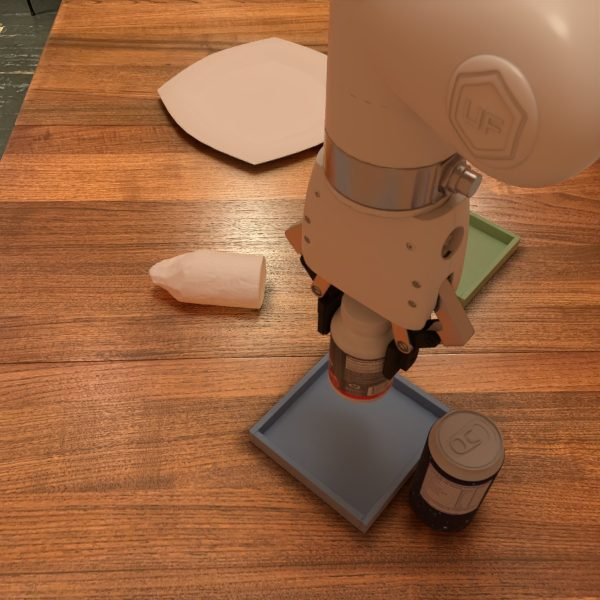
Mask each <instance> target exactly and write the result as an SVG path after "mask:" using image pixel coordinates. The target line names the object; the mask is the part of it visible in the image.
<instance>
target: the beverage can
mask: <svg viewBox="0 0 600 600" xmlns="http://www.w3.org/2000/svg"><path fill="white" fill-rule="evenodd" d="M452 410H453V409H452ZM504 444H505V443H504V437H503V434H502V432H501V430H500V427H499V426H498V425H497V424H496V423H495V421H493V419H492V418H490V417H489V416H488V415H486V414H485V413H482V412H480V411H478V410H475V409H470V408H458V409H454V410H453V411H451V412H449V413H447V414H445V415H444V416H443V417H441V418H440V419H438V420H437V421H436V422H435V423H434V424H433V425H432V427H431V428H430V430H429V433H428V436H427V439H426V442H425V445H424V448H423V451H422V454H421V457H420V460H419V463H418V466H417V469H416V470H415V471H414V475H413V479H412V482H411V485H410V488H409V493H408V500H409V505H410V507H411V510H412V512H413V514H414V515H415V517H416V518H417V519H418V521H420V523H422V524H423V525H424V526H426V527H427V528H429V529H431V530H433V531H435V532H439V533H448V534H449V533H451V534H452V533H455V532H456V533H457V532H459V531H462V530H464V529H465V528H466V527H468V526H469V525H470V524H471V522H472V521H473V519H474V518H475V516H476V514H477V512H478V511H479V509H480V507H481V505H482V503H483V501H484V500H485V498H486V497H487V494H488V493H489V491H490V490H491V487H492V486H493V484H494V482H495V480H496V478H497V476H498V474H499V473H500V472H501V469H502V468H503V466H504V463H505V459H506V449H505V448H506V447H505V445H504Z"/></svg>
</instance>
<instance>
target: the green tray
mask: <svg viewBox="0 0 600 600" xmlns="http://www.w3.org/2000/svg"><path fill="white" fill-rule="evenodd" d="M521 240H522V236H520V235H518V234H516V233H514V232H512V231H510V230H508V229H506V228H504V227H502V226H501V225H499V224H496V223H495V222H493V221H491V220H489V219H487V218H486V217H483V216H482V215H480V214H478V213H476V212H474V211H472V210H470V217H469V232H468V240H467V247H466V253H465V259H464V264H463V270H462V274H461V279H460V282H459V286H458V288H457V291H456V292H455V293H456V295H457V297H458V299H459V301H460V303H461V305H462V307H463V309H464V310H465V307H467V306H468V305H469V303H470V302H471V301H472V300H473V299H474V298H475V296H476V295H478V294H479V292H480V291H481V290H482V289H483V288H484V287H485V285H486V284H487V283H488V282H489V281H490V280H491V279H492V278H493V276H494V275H496V273H497V272H498V271H499V270H500V269H501V268H502V266H503V265H504V264H505V263H506V262H508V260H509V259H510V257H512V255H513V254H514V253H515V252H516V251H517V249H518V248H519V245H520V242H521Z"/></svg>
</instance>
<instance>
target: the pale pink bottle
mask: <svg viewBox="0 0 600 600" xmlns="http://www.w3.org/2000/svg"><path fill="white" fill-rule="evenodd" d="M148 275H149V277H150V279H151V282H152V283H153V285H155V286H158V287H160V288H162V289H164V290H165V291H167V292H168V293H169V294H170V295H171V297H173V298H174V299H175V300H176V301H177V302H180V303H188V304H198V305H208V306H220V307H221V306H222V307H230V308H244V309H257V310H259V309H261V307H262V306H263V303H264V299H265V291H266V282H267V259H266V256H265V255H257V254H248V253H238V252H229V251H228V252H227V251H218V250H211V249H196V250H194V251H192V252H187V253H182V254H179V255H176V256H173V257H170V258H166V259H163V260H161V261H159V262H156V263H155V264H154V265H152V266H151V267H150V268H149V269H148Z"/></svg>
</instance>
